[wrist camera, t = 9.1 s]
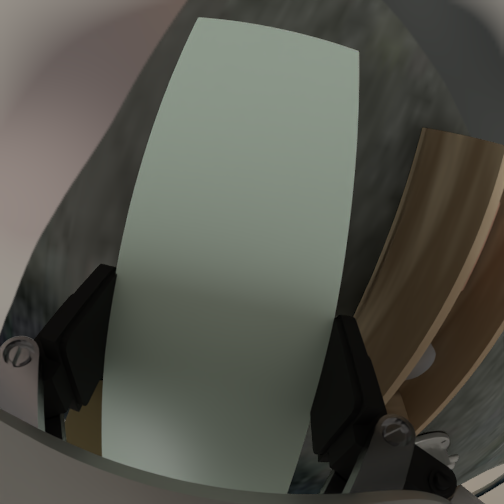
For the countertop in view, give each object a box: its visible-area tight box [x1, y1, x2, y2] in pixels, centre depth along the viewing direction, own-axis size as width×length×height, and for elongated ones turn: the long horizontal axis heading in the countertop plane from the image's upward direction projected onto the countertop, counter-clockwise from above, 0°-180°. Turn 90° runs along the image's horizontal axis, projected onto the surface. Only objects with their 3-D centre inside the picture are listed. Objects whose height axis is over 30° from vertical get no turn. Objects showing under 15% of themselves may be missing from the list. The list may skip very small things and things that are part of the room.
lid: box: [102, 17, 359, 494], centre depth 11 cm, size 7×20×2 cm
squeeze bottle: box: [65, 380, 103, 457], centre depth 20 cm, size 8×8×18 cm
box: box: [353, 127, 504, 436], centre depth 16 cm, size 6×19×8 cm, turn 168°
